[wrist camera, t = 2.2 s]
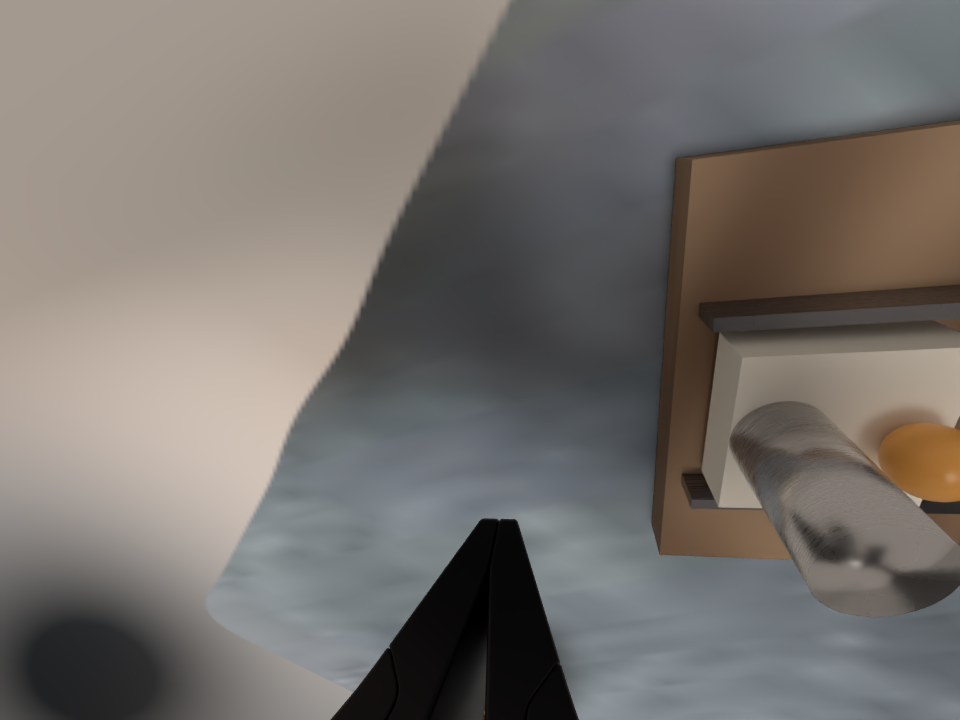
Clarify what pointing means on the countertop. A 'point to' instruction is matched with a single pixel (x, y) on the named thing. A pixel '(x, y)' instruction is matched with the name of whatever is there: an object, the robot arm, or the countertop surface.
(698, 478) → the stand
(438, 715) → the robot arm
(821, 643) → the countertop surface
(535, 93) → the countertop surface
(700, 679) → the countertop surface
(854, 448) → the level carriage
